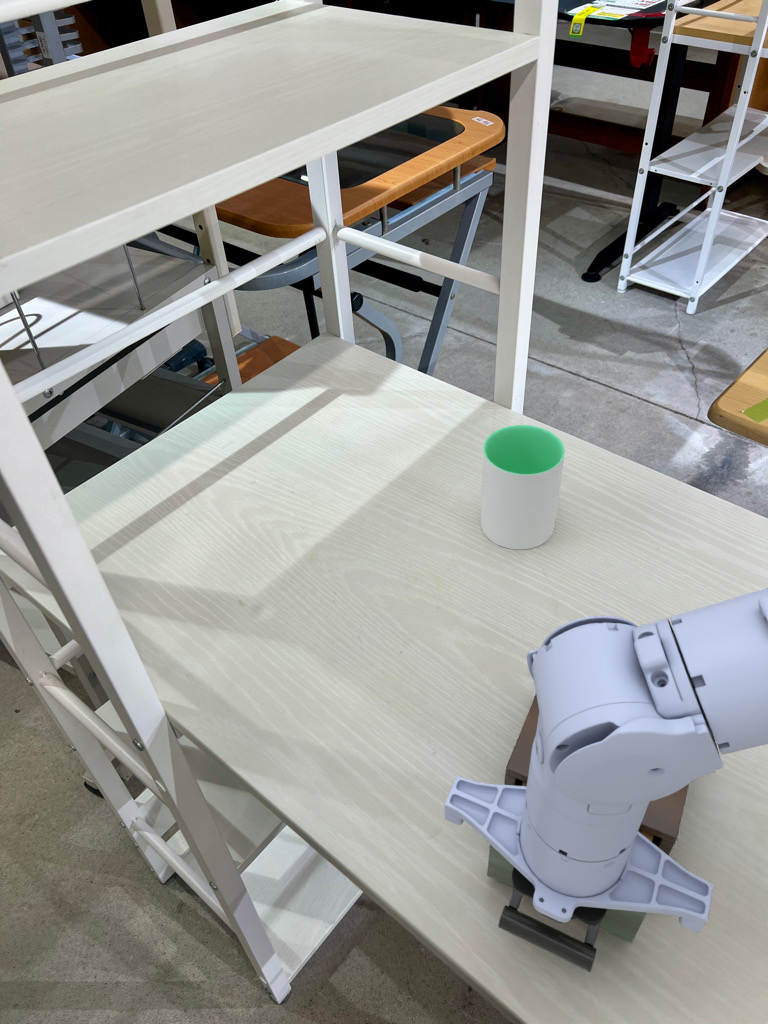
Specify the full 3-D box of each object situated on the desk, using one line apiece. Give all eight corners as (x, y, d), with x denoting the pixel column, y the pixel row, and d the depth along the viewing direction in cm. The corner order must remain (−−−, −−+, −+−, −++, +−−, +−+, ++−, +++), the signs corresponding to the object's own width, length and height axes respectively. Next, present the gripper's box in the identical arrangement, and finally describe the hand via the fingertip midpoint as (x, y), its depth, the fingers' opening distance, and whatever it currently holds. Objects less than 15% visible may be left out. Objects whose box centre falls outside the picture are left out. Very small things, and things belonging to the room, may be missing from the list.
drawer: (615, 1009, 48) (633, 977, 43) (465, 932, 52) (466, 896, 47) (666, 796, 58) (685, 751, 53) (536, 745, 62) (543, 699, 57)
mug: (482, 475, 88) (485, 402, 81) (551, 477, 87) (560, 404, 80) (479, 547, 80) (482, 473, 73) (556, 551, 79) (566, 476, 72)
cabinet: (652, 890, 54) (677, 839, 48) (499, 822, 58) (505, 768, 52) (685, 745, 62) (710, 686, 56) (549, 695, 66) (558, 635, 60)
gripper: (420, 816, 38) (426, 912, 47) (719, 952, 33) (660, 1030, 42) (471, 706, 43) (467, 813, 52) (742, 810, 37) (684, 909, 47)
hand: (556, 903), depth 47 cm, fingers closed
